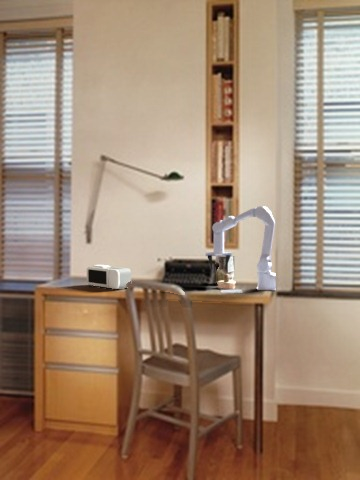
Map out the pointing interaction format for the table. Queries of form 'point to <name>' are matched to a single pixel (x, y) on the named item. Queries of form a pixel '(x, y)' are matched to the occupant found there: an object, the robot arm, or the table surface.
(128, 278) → the alarm clock
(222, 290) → the mat
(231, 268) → the coffee box
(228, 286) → the bowl
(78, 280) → the table surface
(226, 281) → the lid
